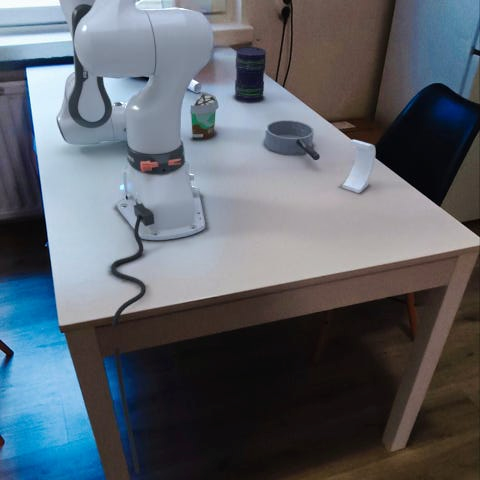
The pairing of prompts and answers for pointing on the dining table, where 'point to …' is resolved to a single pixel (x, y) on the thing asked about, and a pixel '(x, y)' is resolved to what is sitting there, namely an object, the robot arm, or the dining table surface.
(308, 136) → the saucepan
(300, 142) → the saucepan handle
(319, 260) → the dining table surface
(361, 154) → the headphone stand
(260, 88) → the storage jar
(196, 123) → the food container
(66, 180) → the dining table surface
